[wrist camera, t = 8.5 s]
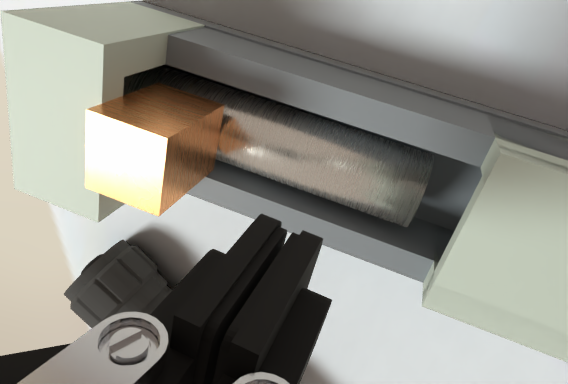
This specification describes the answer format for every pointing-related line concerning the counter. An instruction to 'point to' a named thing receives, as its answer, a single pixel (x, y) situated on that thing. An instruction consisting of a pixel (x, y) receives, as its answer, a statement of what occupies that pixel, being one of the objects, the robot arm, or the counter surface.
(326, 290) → the counter surface
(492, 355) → the counter surface
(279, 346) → the robot arm
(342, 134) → the hammer
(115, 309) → the flashlight
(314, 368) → the counter surface
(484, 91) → the counter surface
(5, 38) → the toy lathe
